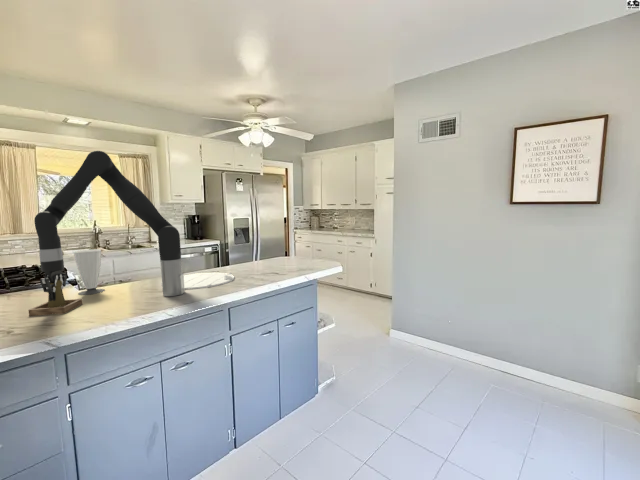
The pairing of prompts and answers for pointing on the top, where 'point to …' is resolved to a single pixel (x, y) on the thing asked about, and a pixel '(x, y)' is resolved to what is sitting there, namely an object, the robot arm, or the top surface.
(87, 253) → the cup
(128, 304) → the top surface
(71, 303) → the box
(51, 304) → the olive brown tapered block
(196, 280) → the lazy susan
